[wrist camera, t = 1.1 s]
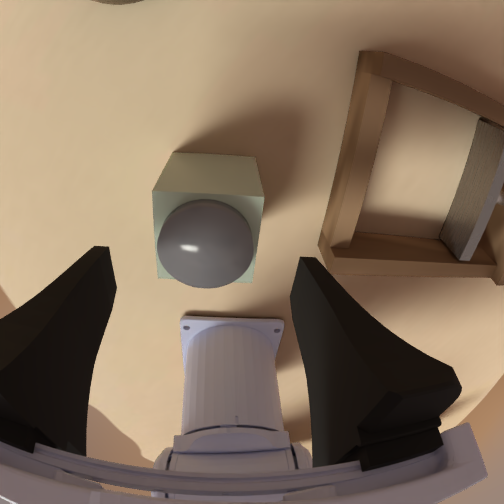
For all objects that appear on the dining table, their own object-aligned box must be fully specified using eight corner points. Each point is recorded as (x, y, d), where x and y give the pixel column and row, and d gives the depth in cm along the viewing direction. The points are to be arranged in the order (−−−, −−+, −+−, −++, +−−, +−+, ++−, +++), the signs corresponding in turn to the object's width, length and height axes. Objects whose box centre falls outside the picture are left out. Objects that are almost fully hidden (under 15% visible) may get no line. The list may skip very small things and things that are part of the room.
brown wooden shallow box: (480, 256, 22) (504, 285, 19) (317, 244, 20) (333, 285, 17) (529, 126, 15) (564, 145, 12) (359, 50, 13) (394, 52, 10)
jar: (246, 226, 19) (253, 294, 14) (172, 222, 19) (155, 289, 14) (254, 156, 17) (266, 206, 12) (172, 152, 16) (147, 200, 11)
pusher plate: (478, 241, 21) (497, 262, 19) (438, 236, 21) (459, 260, 18) (516, 138, 16) (542, 153, 13) (478, 119, 15) (507, 133, 13)
